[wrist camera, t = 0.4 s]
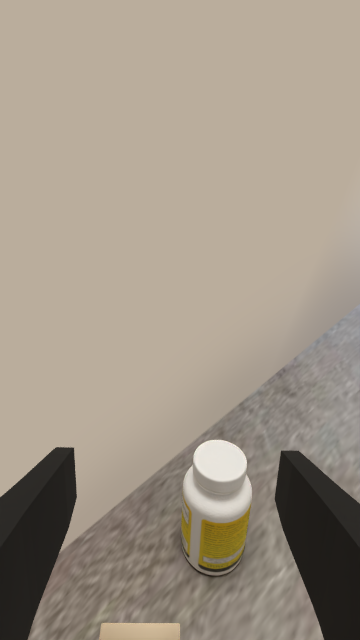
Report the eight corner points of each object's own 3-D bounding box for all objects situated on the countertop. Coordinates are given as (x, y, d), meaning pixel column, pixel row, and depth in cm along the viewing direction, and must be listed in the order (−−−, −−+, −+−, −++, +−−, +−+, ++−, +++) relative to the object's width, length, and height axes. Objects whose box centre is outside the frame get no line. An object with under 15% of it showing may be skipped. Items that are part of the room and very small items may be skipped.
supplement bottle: (255, 541, 29) (270, 458, 25) (218, 594, 25) (229, 507, 21) (206, 502, 32) (213, 423, 28) (167, 544, 28) (168, 460, 24)
